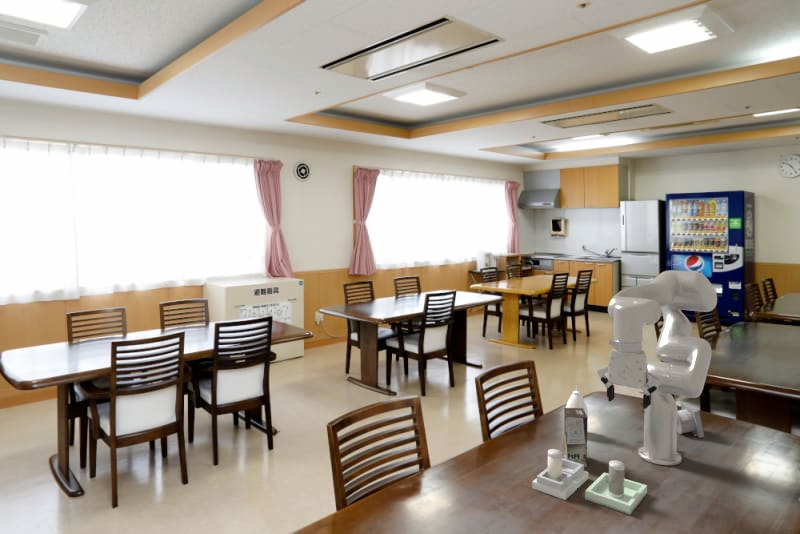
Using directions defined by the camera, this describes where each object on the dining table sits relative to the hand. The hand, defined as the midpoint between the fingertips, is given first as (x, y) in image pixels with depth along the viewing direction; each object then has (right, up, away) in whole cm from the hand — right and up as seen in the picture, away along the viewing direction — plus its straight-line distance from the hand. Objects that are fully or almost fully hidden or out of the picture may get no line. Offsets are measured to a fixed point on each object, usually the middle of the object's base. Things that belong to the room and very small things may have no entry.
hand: (628, 403), depth 148 cm
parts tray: (-5, -25, -4) cm, 26 cm away
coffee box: (-9, -24, +18) cm, 31 cm away
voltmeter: (+36, -21, +45) cm, 61 cm away
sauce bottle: (-1, -22, +40) cm, 46 cm away
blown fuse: (-5, -24, -4) cm, 25 cm away
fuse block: (-18, -25, +3) cm, 31 cm away
